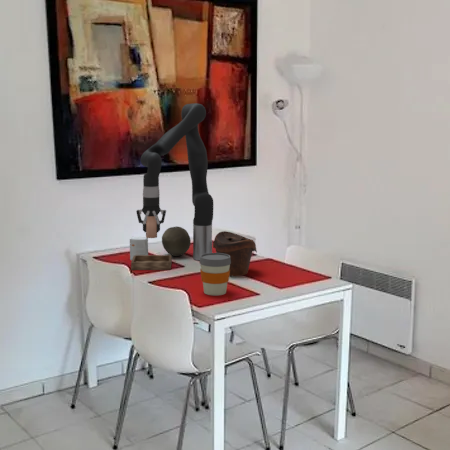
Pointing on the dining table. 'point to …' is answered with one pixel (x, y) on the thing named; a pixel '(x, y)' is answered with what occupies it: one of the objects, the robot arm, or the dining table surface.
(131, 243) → the small box
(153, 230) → the tan round cylinder
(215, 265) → the reusable coffee cup
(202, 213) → the robot arm
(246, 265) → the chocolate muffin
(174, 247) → the cantaloupe
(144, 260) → the tray
